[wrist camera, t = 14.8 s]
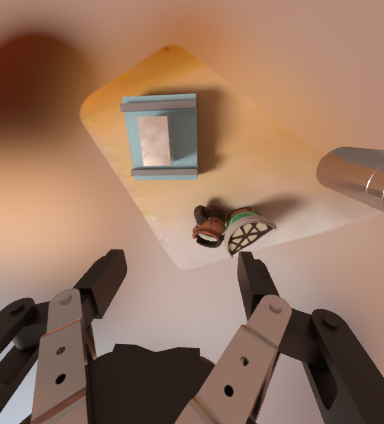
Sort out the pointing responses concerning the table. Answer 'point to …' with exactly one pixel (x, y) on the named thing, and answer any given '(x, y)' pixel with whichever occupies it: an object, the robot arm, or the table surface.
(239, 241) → the food container
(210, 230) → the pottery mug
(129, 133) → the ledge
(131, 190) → the table surface
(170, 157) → the block
